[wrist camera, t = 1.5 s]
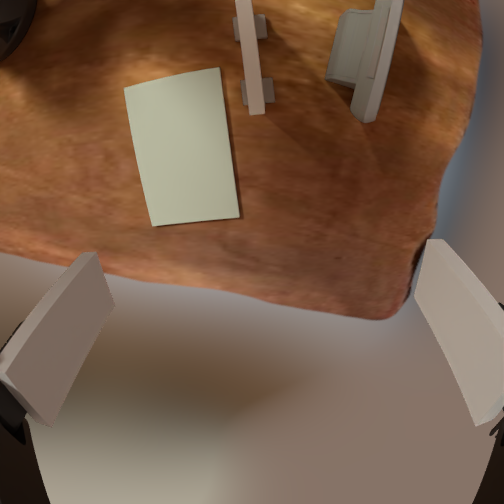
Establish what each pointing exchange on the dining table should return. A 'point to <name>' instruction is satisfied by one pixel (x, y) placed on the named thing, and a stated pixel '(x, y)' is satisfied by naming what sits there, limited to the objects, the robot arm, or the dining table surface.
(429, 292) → the robot arm
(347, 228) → the dining table surface
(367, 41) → the digital clock
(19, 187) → the dining table surface
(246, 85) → the screen
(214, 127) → the mat
